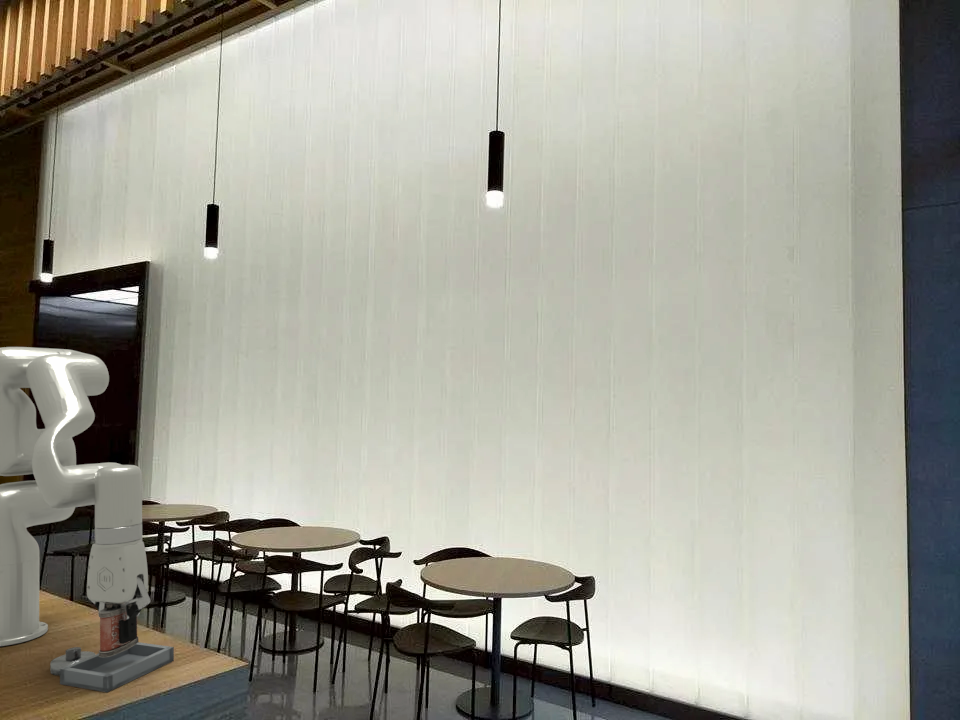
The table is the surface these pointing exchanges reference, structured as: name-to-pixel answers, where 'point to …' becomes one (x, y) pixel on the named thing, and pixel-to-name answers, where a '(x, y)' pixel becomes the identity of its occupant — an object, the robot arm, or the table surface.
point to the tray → (116, 667)
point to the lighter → (112, 631)
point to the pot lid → (68, 659)
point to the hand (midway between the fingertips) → (119, 638)
